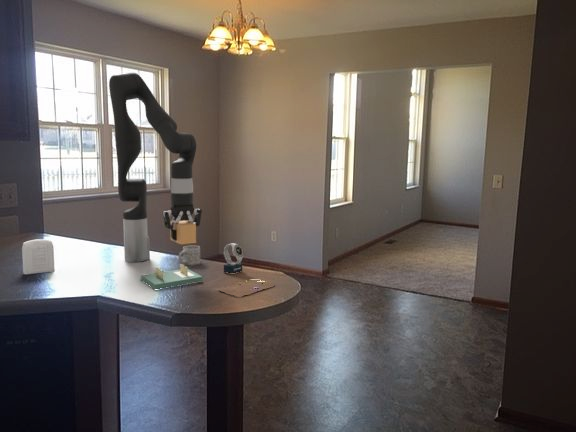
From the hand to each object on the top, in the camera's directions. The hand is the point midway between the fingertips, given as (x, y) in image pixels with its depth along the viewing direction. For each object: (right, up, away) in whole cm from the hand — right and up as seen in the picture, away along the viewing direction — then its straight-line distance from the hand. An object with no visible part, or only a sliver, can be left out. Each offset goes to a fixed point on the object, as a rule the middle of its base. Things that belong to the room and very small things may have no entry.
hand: (182, 239), depth 168 cm
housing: (0, -1, 0) cm, 1 cm away
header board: (-4, -15, 0) cm, 15 cm away
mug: (-3, -11, +24) cm, 26 cm away
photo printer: (-55, -13, +8) cm, 57 cm away
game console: (+23, -17, -6) cm, 29 cm away
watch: (+16, -13, +13) cm, 25 cm away
